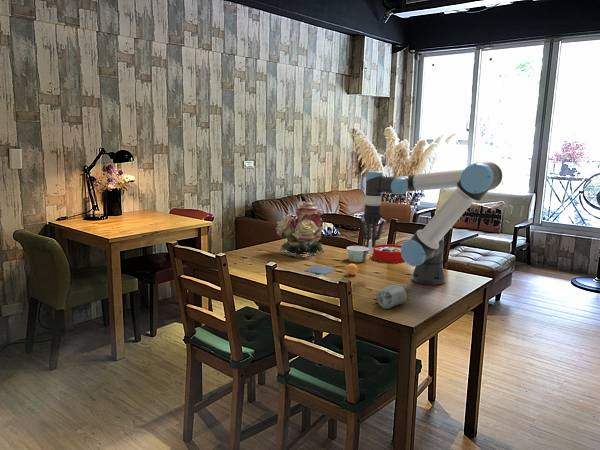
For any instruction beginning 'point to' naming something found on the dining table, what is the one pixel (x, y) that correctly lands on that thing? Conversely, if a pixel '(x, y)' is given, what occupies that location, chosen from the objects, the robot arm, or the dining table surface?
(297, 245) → the rose bouquet
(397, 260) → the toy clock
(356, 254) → the food container
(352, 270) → the ball
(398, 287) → the spool
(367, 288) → the dining table surface
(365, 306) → the dining table surface
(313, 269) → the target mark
